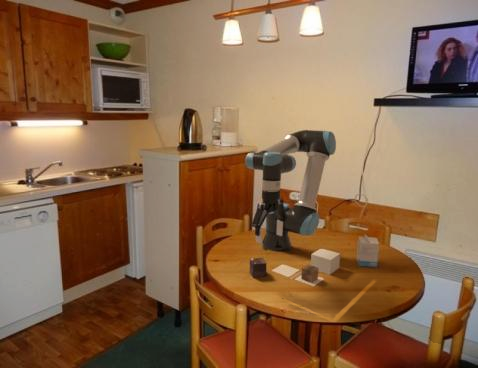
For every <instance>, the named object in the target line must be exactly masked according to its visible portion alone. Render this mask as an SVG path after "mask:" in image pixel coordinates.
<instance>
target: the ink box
mask: <svg viewBox="0 0 478 368" xmlns="http://www.w3.org/2000/svg"><path fill="white" fill-rule="evenodd" d="M379 249H380V242H379V240H378V238H377V237H373V236H372V237H371V236H370V237H369V236H368V235H366V234H365V233H364V236H358V240H357V252H356V260H357V264H358V266H359V267H371V268H378V263H379V253H380V252H379Z"/></svg>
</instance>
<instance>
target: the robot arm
mask: <svg viewBox="0 0 478 368" xmlns="http://www.w3.org/2000/svg"><path fill="white" fill-rule="evenodd" d="M336 148H337V141H336V136H335V134H334V132H332V131H329V130H314V129H313V130H312V129H310V130H308V129H305V130H298V131H296V132H293V133H290V134H288V135H287V136H285V137H283V140H281V141H278V142H277V143H274V144H273V145H270V146H269V147H267V148H265V149H263V150H261V151H258V152H253V151H252V152H249V153H247V155H246V156H245V160H244V161H245V166H246V168H248V169H251V170H257V171H262V180H261V182H262V183H261V188H262V190H261V192H262V193H261V199H262V200H263V202H262V203H261V202H259V203H258V202H257V206H256V210H255V211H256V212H255V214H254V217H253V220H252V222H251V226H250V227H253V228H254V235H255V243H258V244H260V245H261V244H262V245H261V246H262V249H263V250H265V251H268V250H269V251H272V252H283V251H287V252H289V251H291V249H292V242H291V239H290V236H289V235H290V234H289V233H294V234H298V235H301V236H311V235H314V233H315V232H316V231H317V229H318V227H319V224H320V215H319V213H318V210H317V208H316V203H317V199H318V193H319V191H320V185H321V181H322V177H323V174H324V173H323V172H324V169H325V165H326V162H327V161H328V160H330V156H333V155H334V154H335V152H336V151H337V149H336ZM298 152H299V153H306V156H307V163H306V167H305V171H304V175H303V179H302V184H301V188H300V192H299V197H298V200H297V202H296V203H294V204H293V206H292V207H293V208H291V206H290V204H289V203H285V202H284V199H283V198H281V183H282V182H281V181H282V174H286V173H289V172H292V171H294V170H295V168H296V165H297V161H296V158H295V157H294V156H293V155H291V154H294V153H298ZM265 220H266V221H265ZM264 222H265V234H264V236H263V227H262V226H263V224H264ZM262 239H263V240H262Z"/></svg>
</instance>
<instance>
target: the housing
mask: <svg viewBox="0 0 478 368" xmlns="http://www.w3.org/2000/svg"><path fill="white" fill-rule="evenodd" d="M340 259H341V253H340V252H339V253H338V252H335V251H332V250H329V249H325V248H320V249H318V250H316V251H314V252H312V253H311V255H310V265H312V266H315V267H318V273H322V274H324V275H325V274H326V275H329V276H330V275H332V274H333V273H334V272H336V271H337V270H338V269H340Z"/></svg>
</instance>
